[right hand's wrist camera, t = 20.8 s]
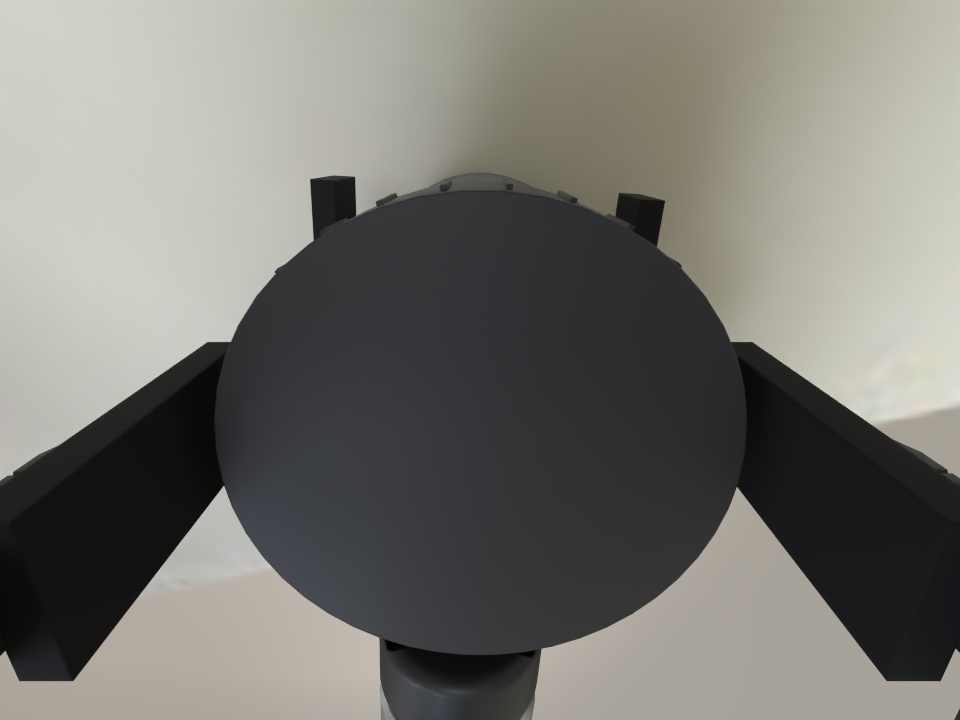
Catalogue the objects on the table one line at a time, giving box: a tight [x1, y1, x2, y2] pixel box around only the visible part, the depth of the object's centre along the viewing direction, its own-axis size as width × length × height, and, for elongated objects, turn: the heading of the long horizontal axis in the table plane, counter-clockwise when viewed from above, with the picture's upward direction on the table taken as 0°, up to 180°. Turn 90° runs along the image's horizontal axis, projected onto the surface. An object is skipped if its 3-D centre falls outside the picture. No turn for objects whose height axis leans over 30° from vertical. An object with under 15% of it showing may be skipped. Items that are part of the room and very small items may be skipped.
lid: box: [214, 179, 748, 655], centre depth 11 cm, size 10×10×2 cm
